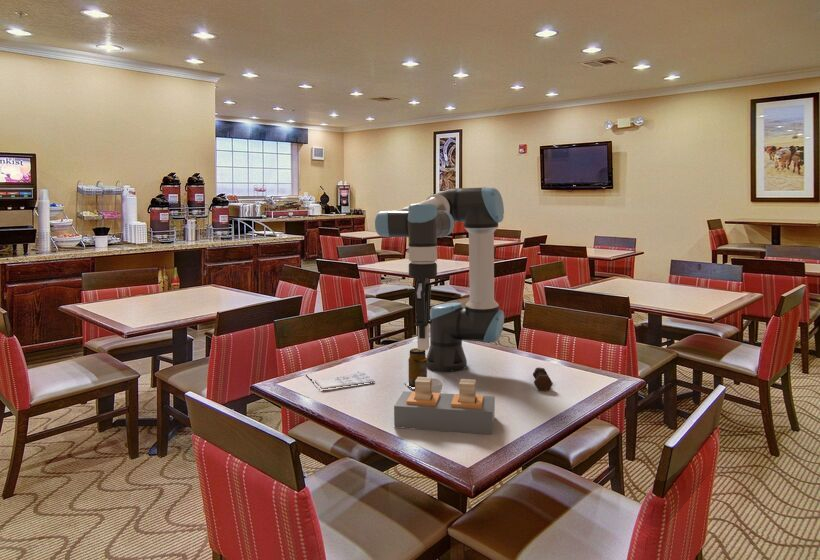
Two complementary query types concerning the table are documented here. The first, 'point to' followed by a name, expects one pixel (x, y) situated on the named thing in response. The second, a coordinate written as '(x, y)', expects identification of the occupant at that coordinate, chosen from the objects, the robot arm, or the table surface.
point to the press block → (445, 413)
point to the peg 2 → (467, 391)
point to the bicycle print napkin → (344, 380)
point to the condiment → (417, 365)
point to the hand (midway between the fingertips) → (423, 348)
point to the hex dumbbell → (542, 379)
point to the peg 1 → (423, 388)
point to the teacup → (437, 386)
